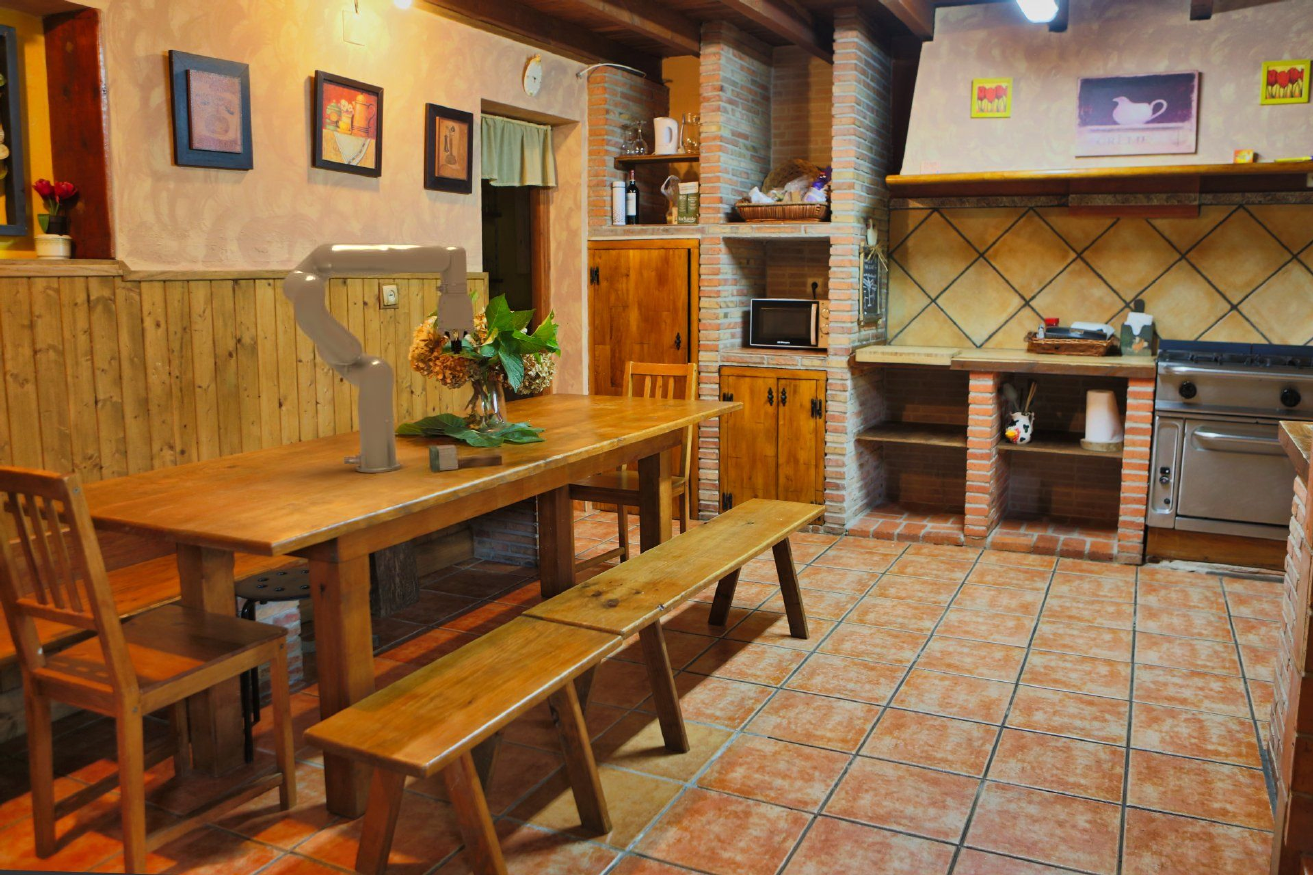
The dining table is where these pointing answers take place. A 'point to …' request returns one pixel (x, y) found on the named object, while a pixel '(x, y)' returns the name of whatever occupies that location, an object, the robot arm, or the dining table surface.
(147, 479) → the dining table surface
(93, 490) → the dining table surface
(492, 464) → the rail
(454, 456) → the keeper
